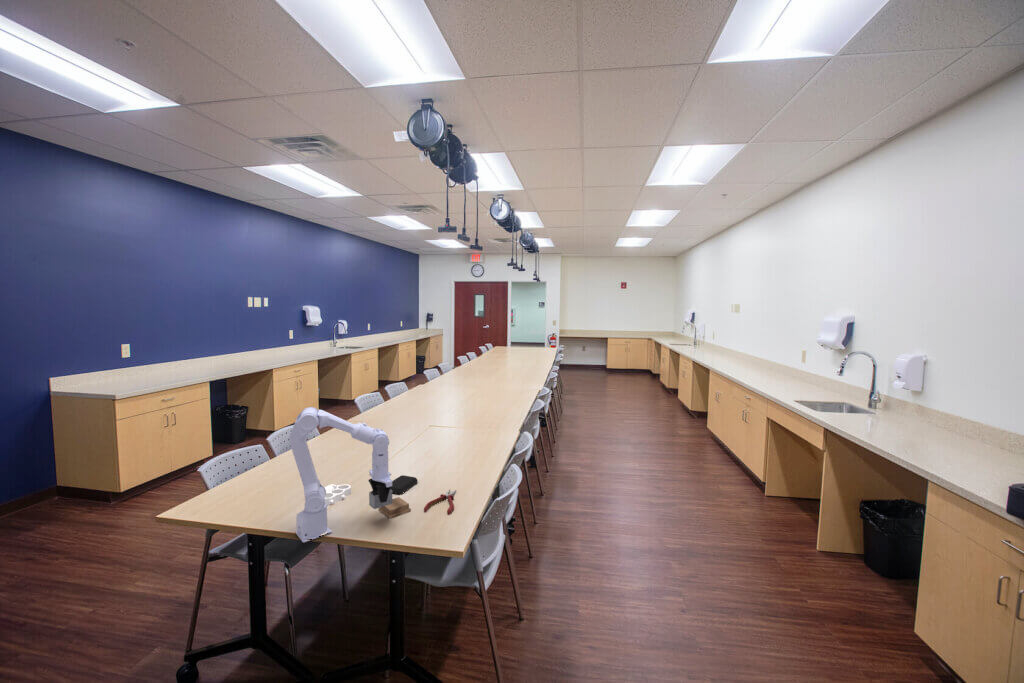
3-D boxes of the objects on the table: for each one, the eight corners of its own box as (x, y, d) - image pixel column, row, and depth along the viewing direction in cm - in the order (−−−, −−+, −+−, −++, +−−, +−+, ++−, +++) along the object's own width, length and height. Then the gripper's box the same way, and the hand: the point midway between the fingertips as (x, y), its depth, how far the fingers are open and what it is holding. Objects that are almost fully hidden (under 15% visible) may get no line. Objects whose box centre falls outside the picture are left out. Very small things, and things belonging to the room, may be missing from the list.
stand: (389, 519, 155) (389, 511, 154) (378, 510, 161) (378, 503, 161) (410, 511, 161) (410, 503, 161) (399, 503, 167) (399, 496, 167)
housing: (392, 503, 153) (392, 489, 153) (374, 509, 148) (374, 495, 148) (386, 499, 156) (386, 486, 156) (369, 505, 151) (369, 491, 151)
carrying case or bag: (399, 479, 191) (379, 492, 178) (399, 473, 191) (379, 485, 177) (419, 482, 188) (400, 496, 174) (419, 476, 188) (400, 489, 174)
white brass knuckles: (336, 487, 182) (358, 495, 175) (297, 503, 167) (319, 513, 159) (336, 479, 182) (358, 487, 174) (297, 495, 166) (319, 504, 159)
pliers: (465, 493, 178) (465, 487, 178) (450, 516, 158) (450, 510, 158) (440, 491, 180) (440, 485, 180) (422, 513, 161) (422, 507, 160)
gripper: (399, 466, 149) (400, 503, 150) (381, 456, 159) (381, 489, 160) (381, 471, 144) (381, 509, 145) (363, 460, 154) (364, 495, 155)
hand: (380, 499), depth 152 cm, fingers closed on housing, 4 cm apart
